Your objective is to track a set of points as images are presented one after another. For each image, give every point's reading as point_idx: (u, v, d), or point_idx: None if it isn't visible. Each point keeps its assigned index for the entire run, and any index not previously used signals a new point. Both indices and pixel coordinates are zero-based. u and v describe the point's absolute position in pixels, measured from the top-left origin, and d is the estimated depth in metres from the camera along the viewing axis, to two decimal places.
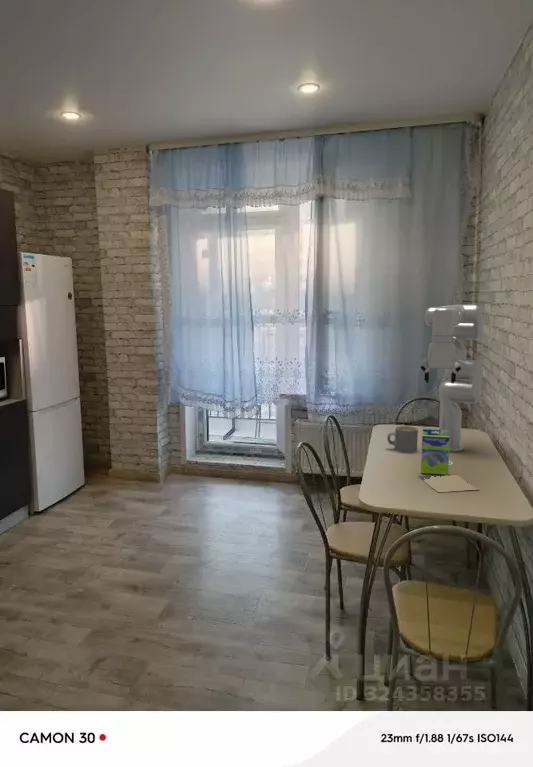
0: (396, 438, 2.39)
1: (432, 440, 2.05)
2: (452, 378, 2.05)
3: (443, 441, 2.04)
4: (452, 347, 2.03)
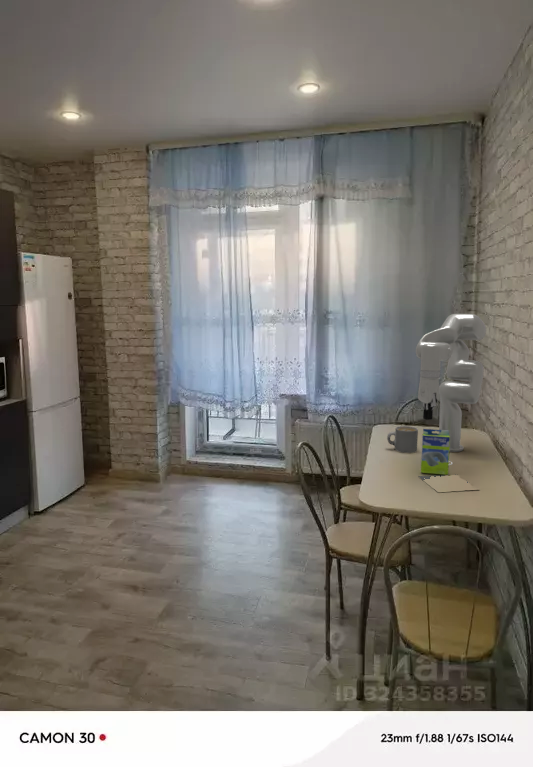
0: (396, 438, 2.39)
1: (432, 440, 2.06)
2: None
3: (443, 441, 2.05)
4: None
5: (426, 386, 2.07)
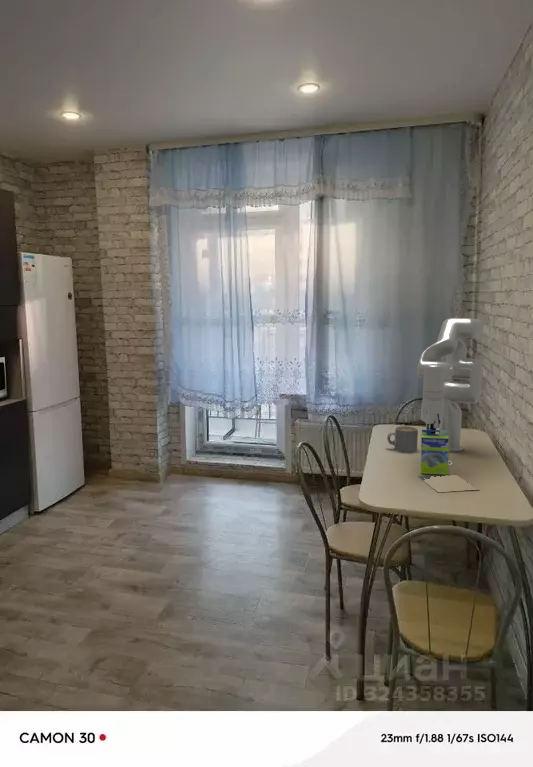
0: (396, 438, 2.39)
1: (431, 441, 2.04)
2: None
3: (442, 442, 2.03)
4: None
5: (429, 407, 2.05)
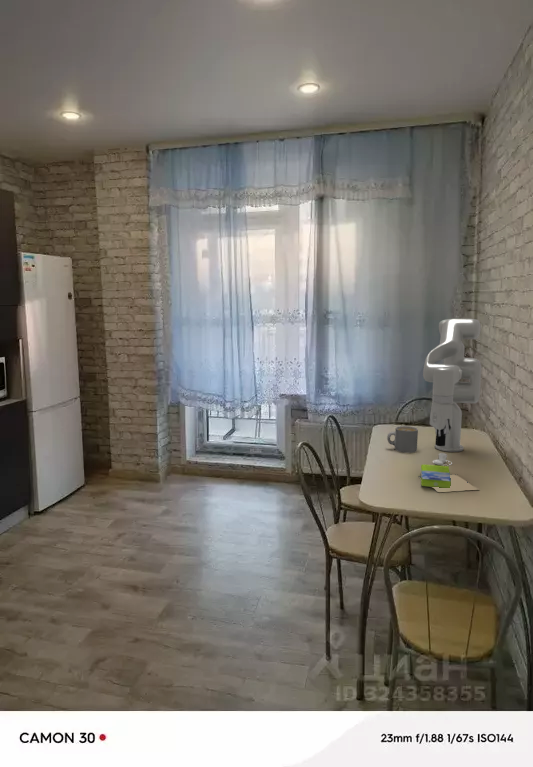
0: (396, 438, 2.39)
1: None
2: None
3: None
4: None
5: (439, 412, 1.97)
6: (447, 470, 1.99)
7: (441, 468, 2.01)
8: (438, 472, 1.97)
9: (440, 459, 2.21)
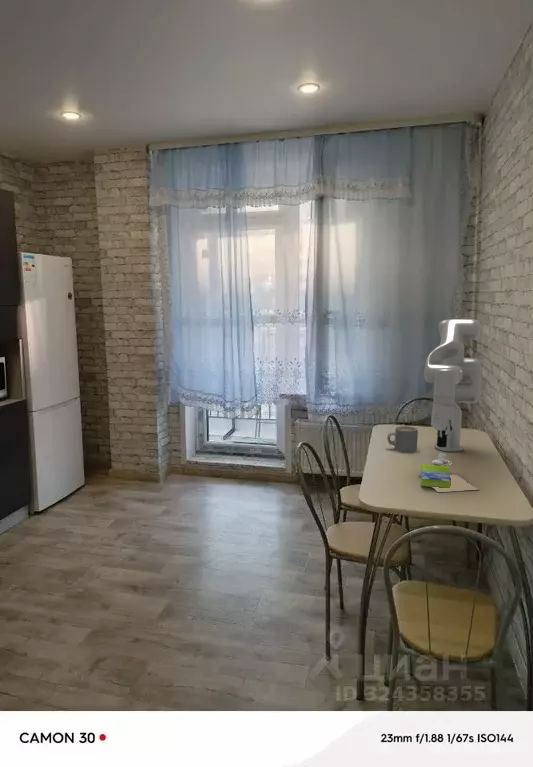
0: (396, 438, 2.39)
1: None
2: None
3: None
4: None
5: (440, 413, 1.96)
6: (447, 470, 1.99)
7: (441, 468, 2.01)
8: (438, 472, 1.97)
9: (440, 459, 2.21)
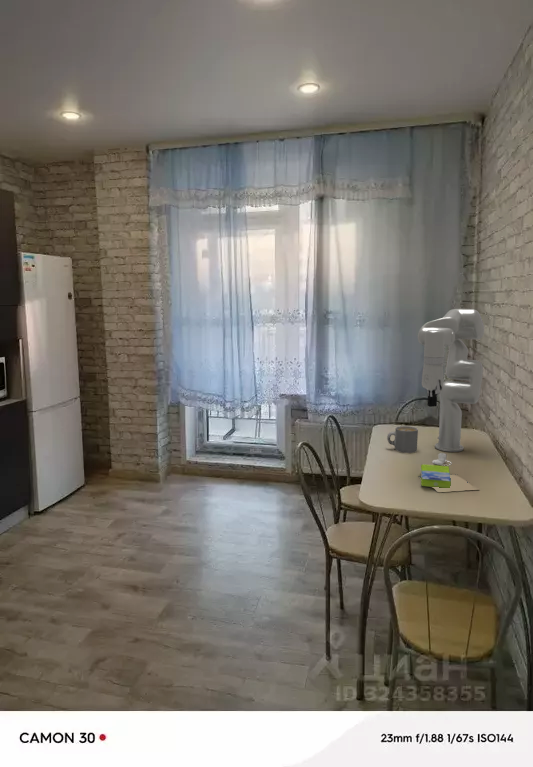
0: (396, 438, 2.39)
1: None
2: None
3: None
4: None
5: (430, 373, 2.04)
6: (447, 470, 1.99)
7: (441, 468, 2.01)
8: (438, 472, 1.97)
9: (440, 459, 2.21)
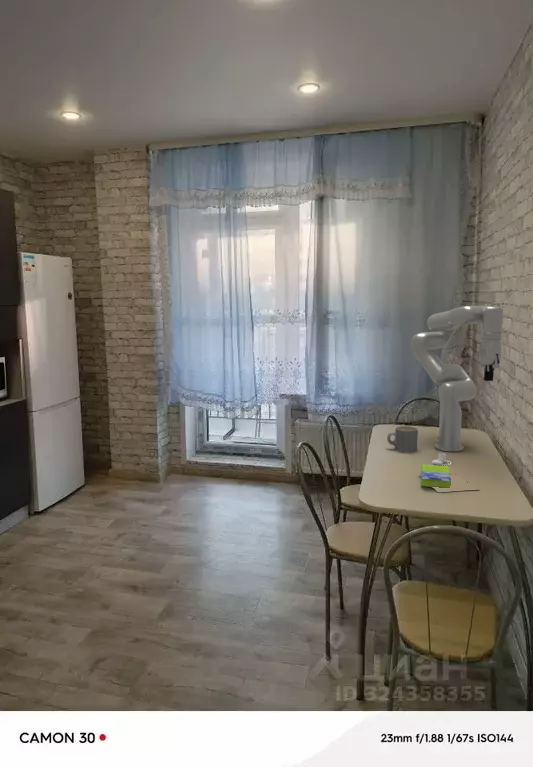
0: (396, 438, 2.39)
1: None
2: None
3: None
4: None
5: (488, 348, 2.12)
6: (447, 470, 1.99)
7: (441, 468, 2.01)
8: (438, 472, 1.97)
9: (439, 459, 2.21)
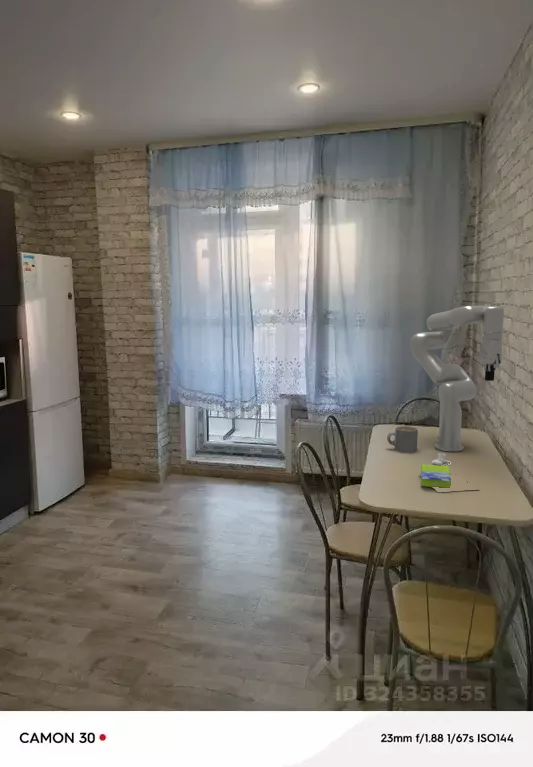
0: (396, 438, 2.39)
1: None
2: None
3: None
4: None
5: (489, 347, 2.12)
6: (447, 470, 1.99)
7: (441, 468, 2.01)
8: (438, 472, 1.97)
9: (439, 459, 2.21)
